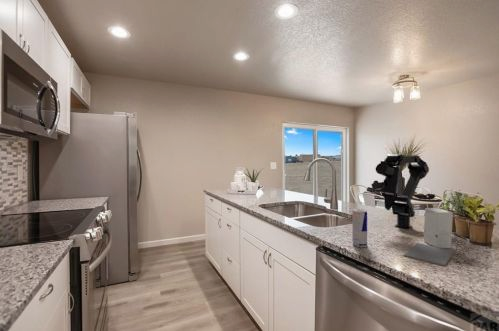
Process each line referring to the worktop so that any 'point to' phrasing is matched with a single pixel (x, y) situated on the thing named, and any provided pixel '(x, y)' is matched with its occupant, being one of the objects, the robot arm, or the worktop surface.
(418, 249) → the mat
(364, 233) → the beverage can
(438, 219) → the skincare box
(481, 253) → the worktop surface
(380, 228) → the worktop surface
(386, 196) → the robot arm
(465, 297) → the worktop surface
